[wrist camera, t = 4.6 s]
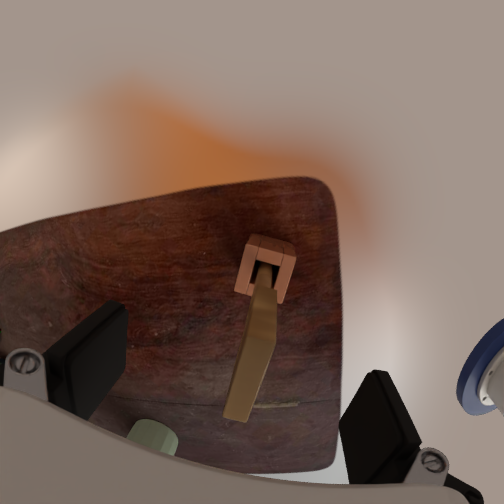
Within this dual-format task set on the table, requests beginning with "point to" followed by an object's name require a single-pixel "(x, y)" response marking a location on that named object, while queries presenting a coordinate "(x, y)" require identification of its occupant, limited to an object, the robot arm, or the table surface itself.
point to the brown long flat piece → (253, 348)
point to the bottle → (154, 436)
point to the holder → (269, 253)
